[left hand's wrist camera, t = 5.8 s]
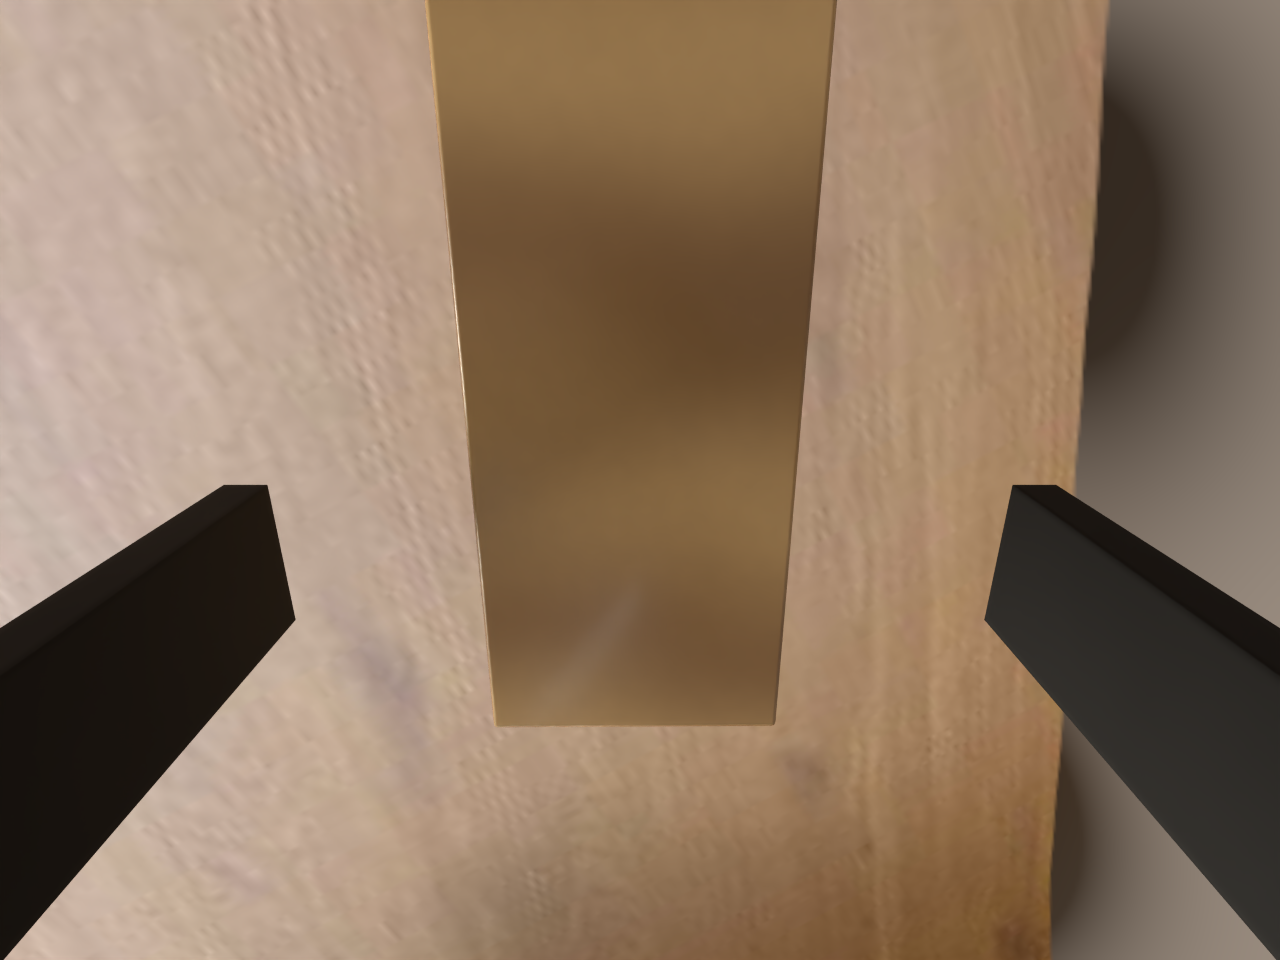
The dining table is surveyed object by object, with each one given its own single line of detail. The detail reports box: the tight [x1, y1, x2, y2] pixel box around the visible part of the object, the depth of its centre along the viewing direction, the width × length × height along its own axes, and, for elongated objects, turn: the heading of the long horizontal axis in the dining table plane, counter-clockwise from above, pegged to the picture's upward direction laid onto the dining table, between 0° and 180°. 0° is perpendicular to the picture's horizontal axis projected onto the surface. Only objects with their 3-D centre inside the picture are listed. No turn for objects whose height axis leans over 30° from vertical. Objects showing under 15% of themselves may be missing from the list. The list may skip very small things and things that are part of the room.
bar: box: [425, 0, 837, 727], centre depth 13 cm, size 27×6×9 cm, turn 0°
